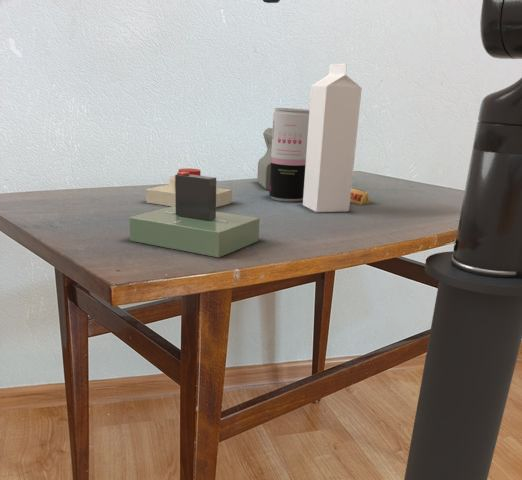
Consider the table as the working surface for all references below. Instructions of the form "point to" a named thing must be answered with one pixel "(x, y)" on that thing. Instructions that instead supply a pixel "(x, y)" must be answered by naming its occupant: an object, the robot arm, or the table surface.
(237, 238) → the green flat block
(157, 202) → the base
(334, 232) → the table surface
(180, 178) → the dark grey square slab
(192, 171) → the power button
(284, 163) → the beverage can
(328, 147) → the milk
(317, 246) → the table surface
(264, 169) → the grey irregular figure
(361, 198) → the chocolate bar
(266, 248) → the table surface
